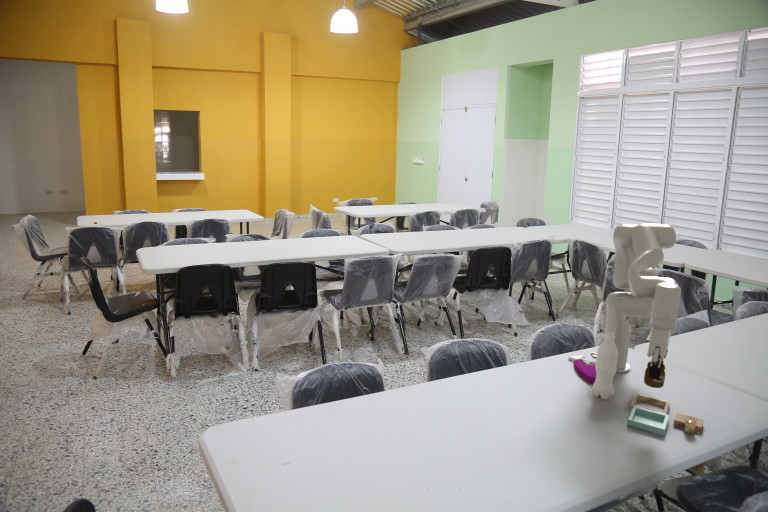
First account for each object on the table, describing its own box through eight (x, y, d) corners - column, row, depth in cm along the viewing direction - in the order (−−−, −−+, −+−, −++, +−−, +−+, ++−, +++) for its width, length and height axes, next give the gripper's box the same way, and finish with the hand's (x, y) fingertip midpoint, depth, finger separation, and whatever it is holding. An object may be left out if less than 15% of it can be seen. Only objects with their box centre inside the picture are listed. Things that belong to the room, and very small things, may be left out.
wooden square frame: (630, 410, 199) (631, 405, 199) (635, 398, 208) (636, 393, 208) (665, 419, 193) (666, 414, 193) (669, 406, 202) (670, 401, 202)
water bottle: (609, 392, 212) (617, 328, 206) (615, 401, 205) (624, 335, 199) (589, 391, 213) (597, 327, 207) (594, 400, 206) (602, 334, 200)
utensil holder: (639, 381, 189) (644, 347, 186) (654, 379, 191) (659, 345, 188) (653, 389, 183) (658, 354, 180) (668, 387, 185) (673, 352, 183)
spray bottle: (588, 385, 218) (562, 360, 242) (615, 385, 219) (587, 359, 243) (588, 378, 217) (562, 353, 241) (616, 377, 219) (587, 353, 242)
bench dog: (683, 433, 185) (685, 421, 184) (684, 429, 188) (686, 418, 187) (693, 436, 184) (695, 424, 183) (694, 432, 186) (696, 420, 185)
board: (673, 426, 190) (674, 419, 189) (675, 419, 195) (676, 412, 194) (700, 434, 186) (701, 427, 185) (702, 426, 191) (703, 419, 190)
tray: (627, 426, 189) (628, 419, 188) (632, 412, 198) (633, 405, 197) (663, 436, 183) (664, 429, 182) (668, 422, 192) (669, 415, 191)
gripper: (654, 312, 191) (646, 363, 195) (646, 327, 177) (638, 381, 181) (679, 317, 187) (671, 368, 191) (672, 332, 173) (664, 387, 177)
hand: (655, 374), depth 186 cm, fingers closed on utensil holder, 5 cm apart
